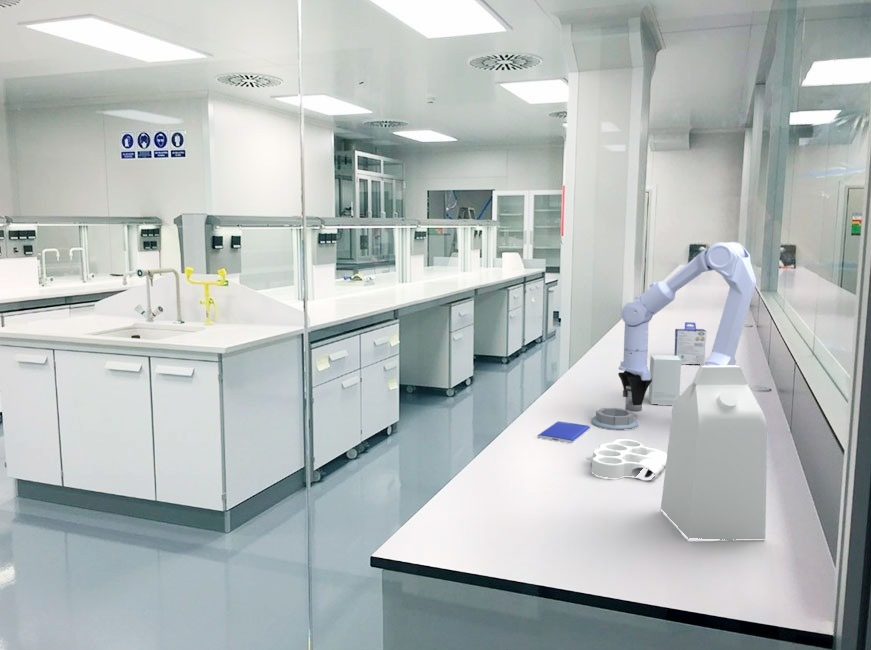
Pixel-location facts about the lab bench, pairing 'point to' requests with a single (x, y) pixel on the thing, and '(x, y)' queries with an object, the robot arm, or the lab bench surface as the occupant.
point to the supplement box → (664, 379)
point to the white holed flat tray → (626, 459)
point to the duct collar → (614, 419)
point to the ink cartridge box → (690, 344)
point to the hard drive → (564, 432)
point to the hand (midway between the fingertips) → (633, 402)
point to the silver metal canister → (630, 400)
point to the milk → (717, 458)
